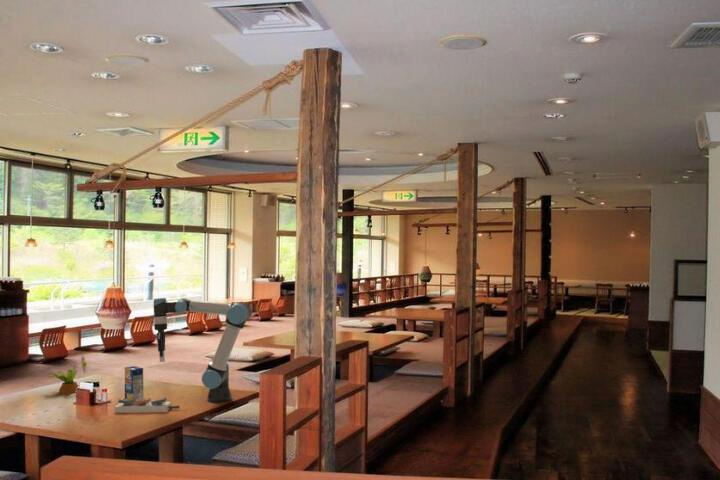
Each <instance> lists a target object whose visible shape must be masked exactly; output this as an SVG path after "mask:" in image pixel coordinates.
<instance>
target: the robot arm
mask: <svg viewBox="0 0 720 480" xmlns="http://www.w3.org/2000/svg"><path fill="white" fill-rule="evenodd" d="M252 311H253V310H252V307H251V306H250V304H248V303H246V302H242V301H241V302H234V301H231V302H229V303H228V302H220V301H217V302H216V301H207V300H205V301H204V300H198V299H197V300H196V299H188V298H184V297H183V298H180V299H177V300H167V298H166V297H156V298H154V299H153V320H154V321H153V322H154V327H153V329H154V330H155V331H157V333H156V340H157V352H159V353H158V354H159V355H158V356H159V363H163V362H165V351H166V332H165V330H167V329H168V317H167V316H168V314H181V313H182V314H183V313H186V312H188V313H189V312H191V313H198V314H199V313H202V314H208V315H209V314H211V315H220V316H221V315H222V316H226V319H225V325H226V326H225V328H224V331H223V333H222V336H221V338H220V340H219V344H218V346H217V348H216V352H215V353H214V356H213V359H212V360H211V361H210V362H209V363H208V364H207V367H206V369H205V371H204V372H203V374H202V376H201V382H202V385H203V386H204V387H205V388H208V389H209V391H208V393H207V396H206V398H207V399H206V400H207V401H208V402H211V403H221V402H222V403H224V402H228V401H231V400H233V399H232V395H233V394H232V393H231V390H230V386H229V385H230V384H229V382H230V379H229V378H230V375H229V374H230V372H229V371H230V370H229V369H230V367H229V363H228V361H229V359H230V356H231V355H232V354H231V353H232V351H233V348H234V346H235V343H236V341H237V338H238V336H239V334H240V330H243V329H244V327H245V325H246V322H247V320H248V319H250V317H251V316H252Z"/></svg>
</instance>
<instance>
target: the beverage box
mask: <svg viewBox="0 0 720 480" xmlns="http://www.w3.org/2000/svg"><path fill="white" fill-rule="evenodd" d="M124 399H129V400H134V401H137V400H141V399H144V368H143V367H141V366H136V365H134V366H126V367H124Z"/></svg>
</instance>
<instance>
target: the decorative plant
mask: <svg viewBox="0 0 720 480" xmlns="http://www.w3.org/2000/svg"><path fill="white" fill-rule="evenodd" d="M80 359H81V361H80V363H81V364H80V366H81V367H82V370H83V373H84V375H86V373H87V365H88V363H87V361H86V359H85V356H84V355H81V357H80ZM75 369H76V364H74V365H73V367H72V370H71V369H67V373H66V375H65V374H64V372H62V371H58V374H61V375H58V374H56V373H53V372H48V375H49V377H48V378H49V379H51V378H52V379H53V378H56V379H58V380H61V381H62V384H61V385H60V388H58V389H59V390H58V394H61V395H67V394H68V395H69V394H76V393H75V391H76V388H77V387H78V386H79V384H77V383H78V382H77V381H74V378H75V376H76V375H77V372H78V370H75ZM50 375H51V376H50Z"/></svg>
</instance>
